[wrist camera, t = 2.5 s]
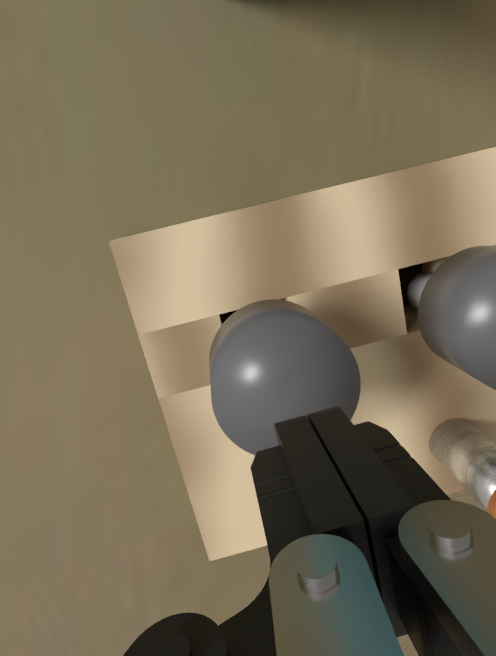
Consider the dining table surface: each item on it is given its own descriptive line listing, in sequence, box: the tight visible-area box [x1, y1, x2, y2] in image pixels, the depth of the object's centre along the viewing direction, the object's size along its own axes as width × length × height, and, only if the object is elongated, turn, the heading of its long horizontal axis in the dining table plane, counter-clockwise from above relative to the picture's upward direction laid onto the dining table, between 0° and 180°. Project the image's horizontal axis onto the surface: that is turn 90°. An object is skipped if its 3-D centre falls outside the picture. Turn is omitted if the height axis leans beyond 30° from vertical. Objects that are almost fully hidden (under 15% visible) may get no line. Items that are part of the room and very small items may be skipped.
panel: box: [109, 147, 496, 561], centre depth 22 cm, size 26×16×4 cm, turn 103°
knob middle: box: [407, 246, 496, 390], centre depth 17 cm, size 5×5×7 cm
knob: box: [209, 299, 361, 455], centre depth 16 cm, size 5×5×7 cm
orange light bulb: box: [429, 418, 496, 519], centre depth 18 cm, size 3×3×6 cm
